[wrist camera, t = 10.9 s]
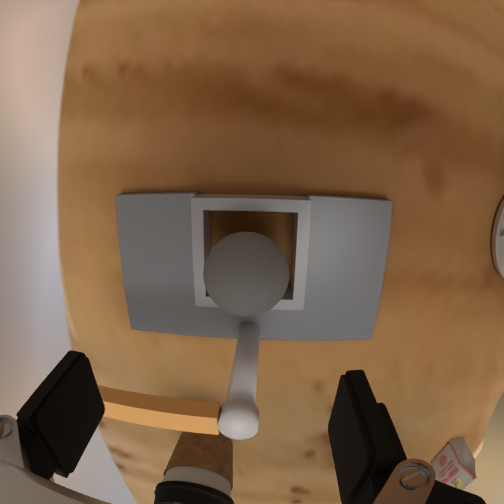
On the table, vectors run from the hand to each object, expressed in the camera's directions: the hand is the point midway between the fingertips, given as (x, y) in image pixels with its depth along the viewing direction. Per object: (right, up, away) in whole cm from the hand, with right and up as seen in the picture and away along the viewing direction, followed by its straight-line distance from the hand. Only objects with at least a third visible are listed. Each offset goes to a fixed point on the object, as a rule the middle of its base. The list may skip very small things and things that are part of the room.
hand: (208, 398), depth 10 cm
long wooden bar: (-5, -6, +9) cm, 12 cm away
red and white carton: (+37, -31, +28) cm, 55 cm away
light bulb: (+2, +6, +19) cm, 20 cm away
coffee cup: (-4, -17, +26) cm, 31 cm away
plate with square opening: (+1, +4, +19) cm, 19 cm away
